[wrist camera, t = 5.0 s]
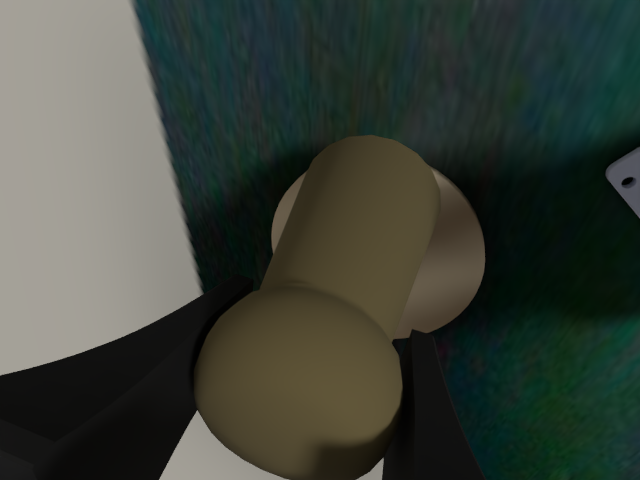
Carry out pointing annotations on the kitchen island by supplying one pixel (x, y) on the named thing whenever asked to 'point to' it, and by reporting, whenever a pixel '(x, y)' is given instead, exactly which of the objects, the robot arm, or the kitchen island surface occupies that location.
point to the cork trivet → (431, 260)
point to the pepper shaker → (325, 320)
